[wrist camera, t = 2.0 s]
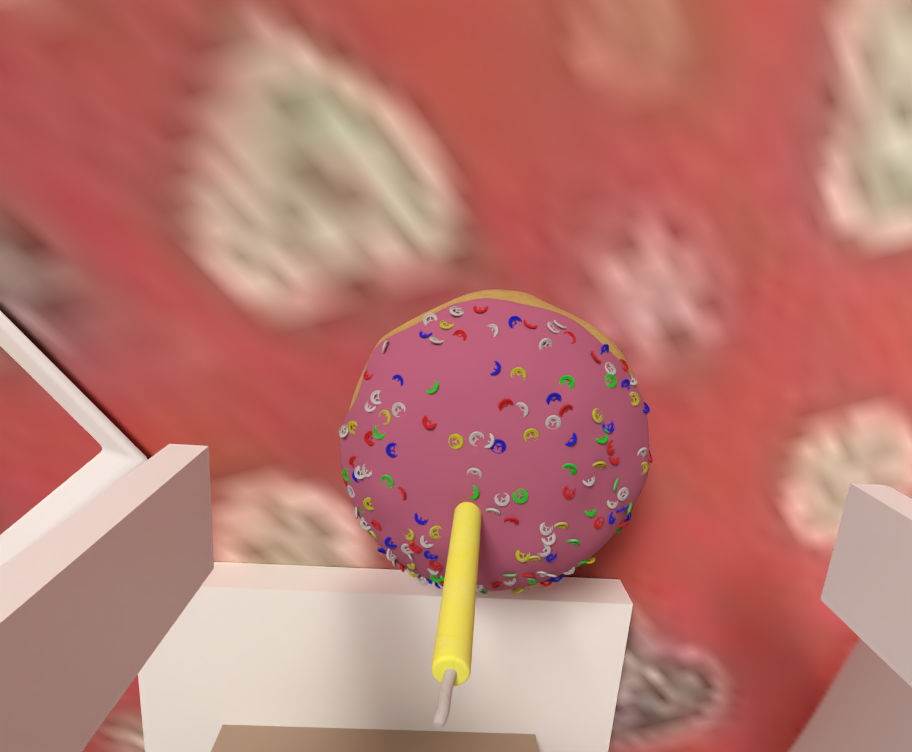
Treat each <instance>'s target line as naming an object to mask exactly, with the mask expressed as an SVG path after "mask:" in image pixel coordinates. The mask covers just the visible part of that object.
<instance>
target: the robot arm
mask: <svg viewBox="0 0 912 752" xmlns="http://www.w3.org/2000/svg"><path fill="white" fill-rule="evenodd" d="M213 569H214V558H213V536H212V513H211V491H210V468H209V446H198V445H181V444H169V445H167V446H166V447H165V448H163V449H162V450H161V451H159V452H158V453H156V454H155V455H154V456H152V457H151V458H149V459H148V460H147V461H145V462H144V463H143V464H141V465H140V466H138V467H137V468H136V469H134V470H133V471H132V472H130V473H129V474H127V475H126V476H125V477H123V478H122V479H120V480H119V481H118V482H116V483H115V484H114V485H112V486H111V487H109V488H108V489H107V490H105V491H104V492H102V493H101V494H100V495H98V496H97V497H96V498H94V499H93V500H91V501H90V502H89V503H87V504H86V505H85V506H83V507H82V508H80V509H79V510H78V511H76V512H75V513H73V514H72V515H71V516H69V517H68V518H67V519H65V520H64V521H62V522H61V523H60V524H58V525H57V526H56V527H54V528H53V529H51V530H50V531H49V532H47V533H46V534H44V535H43V536H42V537H40V538H39V539H38V540H36V541H35V542H33V543H32V544H31V545H29V546H28V547H26V548H25V549H24V550H22V551H21V552H20V553H18V554H17V555H15V556H14V557H13V558H11V559H10V560H9V561H7V562H6V563H4V564H3V565H2V566H0V752H82V751H83V749H84V748H85V747H86V745H87V744H88V742H89V741H90V740H91V738H92V737H93V735H94V734H95V733H96V731H97V730H98V728H99V727H100V726H101V724H102V723H103V722H104V720H105V719H106V717H107V716H108V715H109V713H110V712H111V710H112V709H113V708H114V706H115V705H116V703H117V702H118V701H119V699H120V698H121V697H122V695H123V694H124V692H125V691H126V690H127V688H128V687H129V685H130V684H131V683H132V681H133V680H134V678H135V677H136V676H137V674H138V673H139V672H140V670H141V669H142V667H143V666H144V665H145V663H146V662H147V660H148V659H149V658H150V656H151V655H152V653H153V652H154V651H155V649H156V648H157V647H158V645H159V644H160V642H161V641H162V640H163V638H164V637H165V635H166V634H167V633H168V631H169V630H170V628H171V627H172V626H173V624H174V623H175V622H176V620H177V619H178V617H179V616H180V615H181V613H182V612H183V610H184V609H185V608H186V606H187V605H188V604H189V602H190V601H191V599H192V598H193V597H194V595H195V594H196V592H197V591H198V590H199V588H200V587H201V585H202V584H203V583H204V581H205V580H206V579H207V577H208V576H209V574H210V573H211V572H212V570H213ZM820 600H821V601H822V602H823V603H824V604H826V605H827V606H828V607H829V608H830V609H831V610H832V611H833V612H834V613H835V614H836V615H837V616H838V617H839V618H840V619H841V620H842V621H843V622H844V623H845V624H846V625H847V626H848V627H849V628H850V629H851V630H853V631H854V632H855V633H856V634H857V635H858V636H859V637H860V638H861V639H862V640H863V641H864V642H865V643H866V644H867V645H868V646H869V647H870V648H871V649H872V650H873V651H874V652H875V653H876V654H877V655H878V656H879V657H881V658H882V659H883V660H884V661H885V662H886V663H887V664H888V665H889V666H890V667H891V668H892V669H893V670H894V671H895V672H896V673H897V674H898V675H899V676H900V677H901V678H903V680H904V681H905V682H906V683H907V684H909V685H910V686H911V687H912V499H910V498H909V497H907V496H905V495H903V494H901V493H900V492H898V491H896V490H894V489H892V488H891V487H889V486H887V485H871V484H854V483H851V484H850V488H849V492H848V496H847V500H846V503H845V507H844V511H843V515H842V519H841V523H840V526H839V530H838V534H837V538H836V542H835V546H834V549H833V553H832V557H831V561H830V565H829V569H828V572H827V576H826V580H825V584H824V588H823V592H822V595H821V599H820Z"/></svg>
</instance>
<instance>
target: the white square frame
mask: <svg viewBox="0 0 912 752" xmlns="http://www.w3.org/2000/svg"><path fill="white" fill-rule="evenodd" d="M0 346H1V347H2V348H3V349H4V350H5V351H6V352H7V353H8V354H9V355H10V356H11V357H12V358H13V359H14V360H15V361H16V362H17V363H18V364H19V365H20V366H22V367H23V368H24V369H25V370H26V371H27V372H28V373H29V374H30V375H31V376H32V377H33V378H34V379H35V380H36V381H37V382H38V383H39V384H40V385H41V386H42V387H43V388H44V389H45V390H46V391H47V392H48V393H49V394H50V395H51V396H52V397H53V398H54V399H55V400H56V401H57V402H58V403H59V404H60V405H61V406H62V407H63V408H64V409H65V410H66V411H67V412H68V413H69V414H70V415H71V416H72V417H73V418H74V419H75V420H76V421H77V422H78V423H79V424H80V425H81V426H82V427H83V428H84V429H85V430H86V431H87V432H88V433H89V434H90V435H91V436H92V437H93V438H94V439H95V440H96V441H97V442H98V443H99V444H100V445H101V446H102V448H103V449H102V451H101V453H99V454H98V455H97V456H96V457H94V458H93V459H92V460H91V461H90V462H88V463H87V464H86V465H85V466H84V467H82V468H81V469H80V470H79V471H77V472H76V473H75V474H74V475H73V476H71V477H70V478H69V479H68V480H67V481H65V482H64V483H63V484H62V485H60V486H59V487H58V488H57V489H56V490H54V491H53V492H52V493H51V494H50V495H48V496H47V497H46V498H45V499H43V500H42V501H41V502H40V503H39V504H37V505H36V506H35V507H34V508H33V509H31V510H30V511H29V512H28V513H26V514H25V515H24V516H23V517H22V518H20V519H19V520H18V521H17V522H16V523H14V524H13V525H12V526H11V527H10V528H8V529H7V530H6V531H5V532H3V533H2V534H1V535H0V566H2V565H3V564H4V563H6V562H7V561H9V560H10V559H11V558H13V557H14V556H15V555H17V554H18V553H20V552H21V551H22V550H24V549H25V548H26V547H28V546H29V545H31V544H32V543H33V542H35V541H36V540H38V539H39V538H40V537H42V536H43V535H44V534H46V533H47V532H49V531H50V530H51V529H53V528H54V527H56V526H57V525H58V524H60V523H61V522H62V521H64V520H65V519H67V518H68V517H69V516H71V515H72V514H73V513H75V512H76V511H78V510H79V509H80V508H82V507H83V506H85V505H86V504H87V503H89V502H90V501H91V500H93V499H94V498H96V497H97V496H98V495H100V494H101V493H102V492H104V491H105V490H107V489H108V488H109V487H111V486H112V485H114V484H115V483H116V482H118V481H119V480H120V479H122V478H123V477H125V476H126V475H127V474H129V473H130V472H132V471H133V470H134V469H136V468H137V467H138V466H140V465H141V464H143V463H144V462H145V461H147V460H148V459H147V457H146V456H145V455H144V454H143V453H142V452H141V451H140V450H139V449H138V448H137V447H136V446H135V445H134V444H133V443H132V442H131V441H130V440H129V439H128V438H127V437H126V436H125V435H124V434H123V433H122V432H121V431H120V430H119V429H118V428H117V427H116V426H115V425H114V424H113V423H112V422H111V421H110V420H109V419H108V418H107V417H106V416H105V415H104V414H103V413H102V412H101V411H100V410H99V409H98V408H97V407H96V406H95V405H94V404H93V403H92V402H91V401H90V400H89V399H88V398H87V397H86V396H85V395H84V394H83V393H82V392H81V391H80V390H79V389H78V388H77V387H76V386H75V385H74V384H73V383H72V382H71V381H70V380H69V379H68V378H67V377H66V376H65V375H64V374H63V373H62V372H61V371H60V370H59V369H58V368H57V367H56V366H55V365H54V364H53V363H52V362H51V361H50V360H49V359H48V358H47V357H46V356H45V355H44V354H43V353H42V352H41V351H40V350H39V349H38V348H37V347H36V346H35V345H34V344H33V343H32V342H31V341H30V340H29V339H28V338H27V337H26V336H25V335H24V334H23V333H22V332H21V331H20V330H19V329H18V328H17V327H16V326H15V325H14V324H13V323H12V322H11V321H10V320H9V319H8V318H7V317H6V316H5V315H4V314H3V313H2V312H1V311H0Z"/></svg>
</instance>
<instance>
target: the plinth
mask: <svg viewBox="0 0 912 752" xmlns="http://www.w3.org/2000/svg"><path fill="white" fill-rule="evenodd" d="M411 573H412V572H411ZM412 574H413V573H412ZM417 577H418V575H417ZM417 577H411V576H410V575H409V574H408V573H407V570H405V572H402V570H391V569H368V568H345V567H322V566H299V565H276V564H253V563H230V562H214V569H213V570H212V572H211V573H210V574H209V576H208V577H207V579H206V580H205V581H204V583H203V584H202V585H201V587H200V588H199V590H198V591H197V592H196V594H195V595H194V597H193V598H192V599H191V601H190V602H189V604H188V605H187V606H186V608H185V609H184V610H183V612H182V613H181V615H180V616H179V617H178V619H177V620H176V622H175V623H174V624H173V626H172V627H171V628H170V630H169V631H168V633H167V634H166V635H165V637H164V638H163V640H162V641H161V642H160V644H159V645H158V647H157V648H156V649H155V651H154V652H153V653H152V655H151V656H150V658H149V659H148V660H147V662H146V663H145V665H144V666H143V667H142V669H141V670H140V672H139V673H138V679H139V690H140V701H141V712H142V723H143V734H144V746H145V752H608V749H609V743H610V737H611V731H612V725H613V719H614V713H615V707H616V701H617V696H618V690H619V684H620V678H621V672H622V666H623V660H624V654H625V648H626V642H627V636H628V630H629V625H630V619H631V613H632V607H633V603H632V602H631V600H630V598H629V596H628V594H627V592H626V590H625V588H624V586H623V584H622V583H621V581H620V579H600V578H576V577H563V578H562V579H561V580H560V581H559V582H552V584H551V585H550V586H548V587H544V586H542V585H541V584H540V583H539V584H537V585H536V586H533V587H528V586H525V587H524V590H523V591H522V592H521V593H518V594H515V593H513V591H512V589H509V590H502V591H487V594H483V593H481V592H476V602H475V617H474V632H473V646H472V661H471V672H470V676H469V678H468V680H467V681H466V682H465V683H463V684H461V685H458V686H453V690H452V696H451V705H450V711H449V715H448V718H447V721H446V723H445V725H444V726H443V727H442V728H437V727H435V726H434V724H433V720H434V716H435V713H436V709H437V705H438V696H439V690H440V686H441V683H440V682H438V681H437V680H436V679H435V678H434V676H433V674H432V669H431V667H432V659H433V652H434V646H435V639H436V632H437V625H438V619H439V612H440V605H441V599H442V592H443V589H439V588H437V587H436V586H435V582H434V581H433V583H432V584H429V583H428V584H427V585H426V586H422V585H420V584H419V583H418V581H417ZM420 579H423V577H421V578H420ZM556 579H558V578H556ZM556 579H555V580H556ZM424 580H425V581H426V579H425V578H424ZM421 582H422V583H423V582H424V581H423V580H421ZM543 582H544V581H543ZM548 583H549V582H545V584H548ZM438 585H439V583H438ZM520 589H521V587H520ZM518 590H519V589H516V591H518Z"/></svg>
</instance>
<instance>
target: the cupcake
mask: <svg viewBox="0 0 912 752" xmlns="http://www.w3.org/2000/svg"><path fill="white" fill-rule="evenodd" d="M649 411H650V409H649V407H648V405H647V404H646V403H645V402H643V399H642V396H641V393H640V389H639V386H638V383H637V380H636V378H635V376H634V374H633V372H632V370H631V368H630V366H629V364H628V362H627V361H626V359H625V357H624V356H623V354H622V353H621V351H620V350H619V349H618V347H617V346H616V345H615V344H614V343H613V342H612V341H611V340H610V339H609V338H608V337H607V336H606V335H605V334H603V333H602V332H601V331H599V330H598V329H597V328H595V327H594V326H592V325H591V324H589V323H587V322H585V321H584V320H582V319H580V318H578V317H576V316H574V315H572V314H570V313H568V312H566V311H563V310H561V309H559V308H557V307H555V306H553V305H550V304H548V303H546V302H544V301H542V300H540V299H538V298H537V297H535V296H533V295H530V294H528V293H524V292H519V291H511V290H484V291H478V292H473V293H470V294H466V295H464V296H461V297H458V298H456V299H453V300H451V301H449V302H447V303H445V304H442V305H440V306H438V307H436V308H434V309H432V310H430V311H428V312H425V313H423V314H421V315H419V316H418V317H416V318H414V319H412V320H410V321H408V322H406V323H405V324H403V325H401V326H399V327H397V328H395V329H394V330H392V331H391V332H389V333H388V334H386V335H385V336H384V337H383V338H382V339H381V340H380V341H379V342H378V343H377V345H376V347H375V348H374V350H373V352H372V354H371V356H370V358H369V360H368V362H367V364H366V366H365V368H364V371H363V373H362V375H361V377H360V379H359V382H358V384H357V387H356V390H355V392H354V396H353V399H352V402H351V405H350V409H349V412H348V414H347V416H346V418H345V421H344V423H343V426H342V427H341V428H340V431H339V436H340V457H341V465H342V471H343V473H342V477H343V480H344V483H345V485H346V487H347V492H348V494H349V496H350V498H351V501H352V503H353V505H354V507H355V517H356V519H358V515H359V517H360V519H361V520H360V525H361V527H362V528H363V529H364V530H368V532H369V534H370V535H371V536H372V537H373V538H374V539H375V540H376V541H377V543H378V544H379V545H380V546H381V547H382V548H378V551H379V552H381V553H384V554H387V559H388V560H389V561H392V564H393V566H394V567H396V562H397V563H399V564H400V567H401V570H402V572H405V570H404V567H405V568H407V573H408V574H409V575H410V576H411V577H417V575H418V577H417V581H418V583H419V584H420V585H422V586H426V585H427V584H428V583H429V584H432V583H433V581H434V582H435V586H436V587H437V588H439V589H443V592H442V599H441V605H440V612H439V619H438V625H437V632H436V639H435V646H434V652H433V659H432V667H431V669H432V674H433V676H434V678H435V679H436V680H437V681H438V682H440V683H441V686H440V690H439V696H438V705H437V709H436V713H435V716H434V720H433V724H434V726H435V727H437V728H442V727H443V726H444V725H445V723H446V721H447V718H448V715H449V711H450V705H451V696H452V690H453V686H458V685H461V684H463V683H465V682H466V681H467V680H468V678H469V676H470V672H471V661H472V646H473V632H474V617H475V602H476V592H481V593H483V594H487V591H502V590H509V589H512V591H513V593H515V594H518V593H521V592H522V591H523V590H524V587H525V586H528V587H533V586H536V585H537V584H539V583H540V584H541V585H542V586H544V587H548V586H550V585H551V584H552V582H559V581H560V580H561V579H562V578H563V575H562V574H565V575H569V574H574V571H575V568H576V567H578V566H582V565H584V564H591V563H593V562H595V558H594V557H593V555H594V554H595V553H597V552H598V551H599V550H600V549H601V548H602V547H603V546H604V545H605V544H606V543H607V542H608V541H609V540H610V539H611V537H612V536H613V535H614V534H615V533H618V532H620V530H621V529H622V527H623V526H625V525H626V524H628V521H629V519H630V517H631V512H630V511H631V509H632V507H633V505H634V504H635V502H636V500H637V498H638V496H639V494H640V492H641V490H642V488H643V486H644V484H645V481H646V478H647V475H648V470H649V461H650V462H651V463H652V457H651V454H650V451H649V436H648V420H647V414H646V413H649ZM627 515H628V516H627ZM626 517H627V519H625V518H626ZM363 524H364V525H363ZM619 527H620V528H619ZM617 529H618V530H617ZM589 558H591V559H589ZM588 560H591V561H588ZM411 572H412V573H413V574H412V573H411ZM559 575H560V576H559ZM557 576H559V577H557ZM421 577H423V579H420V578H421ZM424 578H425V579H426V581H425V580H424ZM556 578H558V579H556ZM555 579H556V580H555ZM421 580H423V581H424V582H423V583H422V582H421ZM543 581H544V582H543ZM545 582H549V583H548V584H545ZM438 583H439V585H438ZM520 587H521V589H520ZM516 589H519V590H518V591H516Z"/></svg>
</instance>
